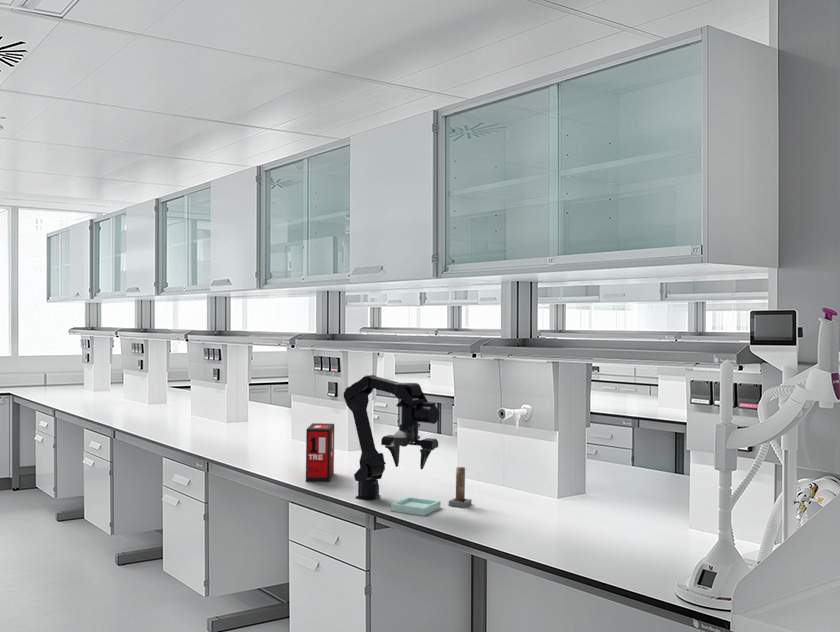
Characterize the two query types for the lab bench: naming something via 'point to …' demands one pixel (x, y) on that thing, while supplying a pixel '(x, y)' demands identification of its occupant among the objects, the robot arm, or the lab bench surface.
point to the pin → (460, 484)
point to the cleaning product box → (319, 452)
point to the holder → (460, 503)
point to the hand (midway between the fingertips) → (409, 467)
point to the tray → (415, 506)
